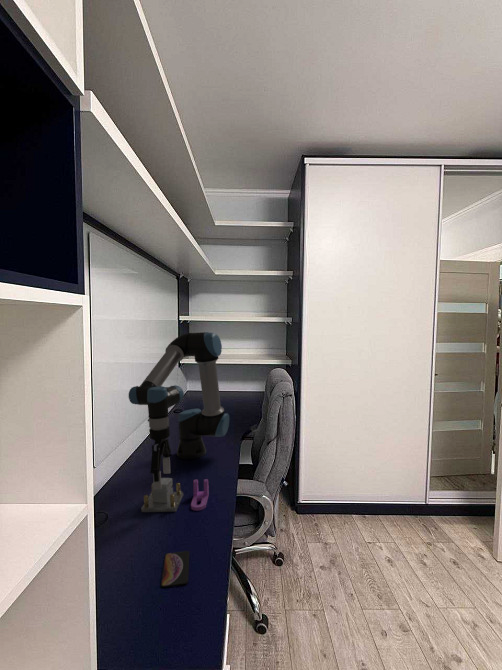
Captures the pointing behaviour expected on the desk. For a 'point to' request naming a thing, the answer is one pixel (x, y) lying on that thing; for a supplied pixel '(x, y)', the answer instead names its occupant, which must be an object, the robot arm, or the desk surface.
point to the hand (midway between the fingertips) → (162, 480)
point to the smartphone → (175, 569)
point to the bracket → (200, 496)
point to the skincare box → (163, 491)
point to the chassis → (163, 507)
